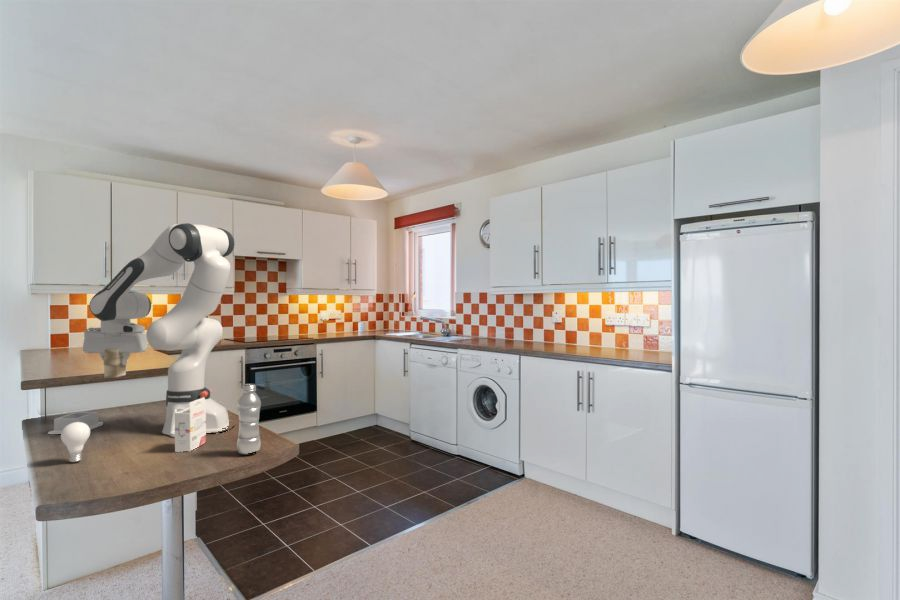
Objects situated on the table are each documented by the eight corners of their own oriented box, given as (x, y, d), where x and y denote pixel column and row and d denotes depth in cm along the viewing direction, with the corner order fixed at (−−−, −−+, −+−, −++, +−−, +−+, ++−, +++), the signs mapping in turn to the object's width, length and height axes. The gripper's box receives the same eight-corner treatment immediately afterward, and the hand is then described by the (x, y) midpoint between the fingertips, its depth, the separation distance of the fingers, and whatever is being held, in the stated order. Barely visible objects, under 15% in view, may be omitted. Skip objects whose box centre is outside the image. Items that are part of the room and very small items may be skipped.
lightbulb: (65, 467, 121) (66, 426, 121) (56, 463, 125) (56, 423, 125) (94, 461, 127) (94, 421, 127) (84, 457, 130) (84, 418, 130)
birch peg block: (125, 375, 171) (126, 348, 171) (116, 377, 165) (116, 349, 165) (114, 375, 170) (114, 348, 171) (104, 377, 165) (104, 350, 165)
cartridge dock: (102, 424, 165) (103, 410, 166) (81, 433, 154) (81, 418, 154) (72, 425, 164) (72, 411, 164) (48, 435, 152) (48, 420, 152)
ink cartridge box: (190, 443, 142) (191, 396, 143) (206, 443, 142) (206, 396, 142) (173, 452, 134) (173, 402, 134) (190, 452, 134) (190, 402, 134)
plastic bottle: (255, 448, 138) (255, 382, 138) (264, 453, 133) (264, 384, 133) (233, 453, 133) (233, 384, 133) (241, 458, 128) (242, 387, 128)
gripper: (78, 328, 163) (78, 366, 163) (140, 327, 166) (140, 365, 166) (90, 327, 170) (89, 364, 169) (149, 327, 172) (149, 363, 172)
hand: (115, 365), depth 168 cm, fingers closed on birch peg block, 4 cm apart
